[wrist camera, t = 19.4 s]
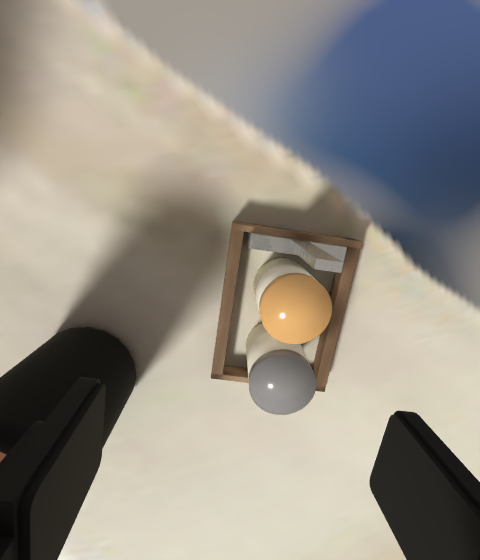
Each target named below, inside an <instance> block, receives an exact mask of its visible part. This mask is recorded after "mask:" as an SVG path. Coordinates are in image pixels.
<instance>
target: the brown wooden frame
mask: <svg viewBox="0 0 480 560" xmlns="http://www.w3.org/2000/svg"><path fill="white" fill-rule="evenodd" d="M244 232H251V233H258V234H265V235H271V236H278V237H285V238H292V239H299V240H306V241H312V242H319V243H326V244H333V245H340V246H345V247H347V250H346V254H345V259H344V263H343V267H342V271H341V273H338V272H335V274H334V278H333V282H332V287H331V291H330V295H329V296H330V298H331V302H332V315H331V318H330V321H329V323H328V325H327V327H326V328H325V330H324V331H323V332H322V333H321V334H320V338H319V343H318V347H317V351H316V356H315V360H314V364H313V369H312V370H313V372H314V374H315V377H316V391H322V392H325V388H326V384H327V380H328V376H329V371H330V367H331V363H332V359H333V355H334V351H335V347H336V343H337V339H338V335H339V331H340V327H341V323H342V319H343V315H344V311H345V307H346V303H347V299H348V295H349V291H350V287H351V283H352V279H353V275H354V271H355V267H356V263H357V259H358V255H359V251H360V249H362V248H363V244H364V243H363V242H360V241H357V240H355V239H349V238H342V237H335V236H328V235H322V234H315V233H308V232H301V231H295V230H288V229H281V228H274V227H268V226H261V225H254V224H247V223H241V222H234V221H233V222H232V229H231V237H230V244H229V251H228V258H227V265H226V272H225V280H224V287H223V294H222V301H221V308H220V315H219V323H218V330H217V337H216V344H215V351H214V358H213V366H212V373H211V378H212V379H221V380H229V381H238V382H246V383H249V378H248V368H242V367H233V366H225V365H224V361H225V354H226V348H227V341H228V334H229V328H230V321H231V314H232V308H233V301H234V294H235V288H236V281H237V274H238V268H239V261H240V254H241V248H242V241H243V234H244Z"/></svg>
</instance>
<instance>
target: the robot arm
mask: <svg viewBox="0 0 480 560" xmlns="http://www.w3.org/2000/svg"><path fill="white" fill-rule="evenodd" d="M105 395H106V385H104V384H100V380H99V379H94V378H85V377H80V378H78V379H77V381H76V382H75V383H74V384H73V386H72V387H71V388H70V389H69V391H68V392H67V393H66V395H65V396H64V397H63V398H62V400H61V401H60V402H59V403H58V405H57V406H56V407H55V408H54V410H53V411H52V412H51V413H50V415H49V416H48V417H47V419H46V420H45V421H36V422H34V423H33V424H32V425H31V426H30V427H29V428H28V430H27V431H26V432H25V433H24V434H23V436H22V437H21V438H20V439H19V440H18V442H17V443H16V444H15V445H14V446H13V448H12V449H11V450H10V451H9V452H8V454H7V455H6V456H5V457H4V458H3V460H2V461H1V462H0V560H57V559H58V557H59V555H60V553H61V550H62V548H63V546H64V544H65V541H66V539H67V537H68V535H69V533H70V530H71V528H72V526H73V524H74V522H75V519H76V517H77V515H78V513H79V511H80V508H81V506H82V504H83V502H84V500H85V497H86V495H87V493H88V491H89V489H90V486H91V484H92V482H93V480H94V478H95V475H96V473H97V471H98V468H99V466H100V462H101V457H102V443H103V427H104V411H105ZM370 488H371V491H372V493H373V495H374V497H375V499H376V501H377V503H378V505H379V507H380V509H381V511H382V512H383V514H384V516H385V518H386V520H387V522H388V524H389V526H390V528H391V530H392V532H393V534H394V536H395V538H396V540H397V542H398V544H399V546H400V548H401V549H402V551H403V553H404V555H405V557H406V559H407V560H480V482H479V481H478V480H477V479H476V478H475V477H474V475H473V474H472V473H471V472H470V471H469V470H468V469H467V468H466V467H465V466H464V464H463V463H462V462H461V461H460V460H459V459H458V458H457V457H456V456H455V455H454V453H453V452H452V451H451V450H450V449H449V448H448V447H447V446H446V445H445V444H444V442H443V441H442V440H441V439H440V438H439V437H438V436H437V435H436V434H435V433H434V431H433V430H432V429H431V428H430V427H429V426H428V425H427V424H426V423H425V422H424V421H423V419H422V418H421V417H420V416H419V415H418V414H417V413H414V412H407V411H396V412H395V413H394V415H391V416H390V418H389V421H388V424H387V427H386V430H385V433H384V436H383V439H382V442H381V445H380V448H379V452H378V455H377V458H376V461H375V464H374V467H373V470H372V473H371V476H370Z"/></svg>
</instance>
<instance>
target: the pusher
mask: <svg viewBox="0 0 480 560" xmlns="http://www.w3.org/2000/svg"><path fill="white" fill-rule="evenodd" d="M247 245H248V248H251V249H258V250H265V251H272V252H278V253H285V254H292V255H299V256H300V257H301V258H302V259H303V260H304V261H305V262H307V263H308V264H309V265H310V266H311V267H312V268H313V269H316V270H323V271H331V272H338V273H341V271H342V267H343V263H344V259H345V254H346V250H347V247H345V246H340V245H333V244H326V243H319V242H312V241H306V240H299V239H292V238H285V237H278V236H271V235H265V234H258V233H251V232H249V235H248V242H247Z"/></svg>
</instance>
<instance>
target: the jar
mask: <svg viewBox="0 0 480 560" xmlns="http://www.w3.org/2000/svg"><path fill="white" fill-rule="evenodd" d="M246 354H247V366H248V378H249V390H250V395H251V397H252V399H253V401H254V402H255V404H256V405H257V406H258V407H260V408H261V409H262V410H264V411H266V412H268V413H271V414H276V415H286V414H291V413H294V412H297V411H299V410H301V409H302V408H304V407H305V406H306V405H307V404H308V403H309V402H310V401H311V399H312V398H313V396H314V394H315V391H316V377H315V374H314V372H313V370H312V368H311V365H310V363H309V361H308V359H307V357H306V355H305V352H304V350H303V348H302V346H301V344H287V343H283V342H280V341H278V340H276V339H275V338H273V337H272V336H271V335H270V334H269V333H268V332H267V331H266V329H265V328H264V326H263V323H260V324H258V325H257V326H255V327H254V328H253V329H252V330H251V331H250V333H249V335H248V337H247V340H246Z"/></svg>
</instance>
